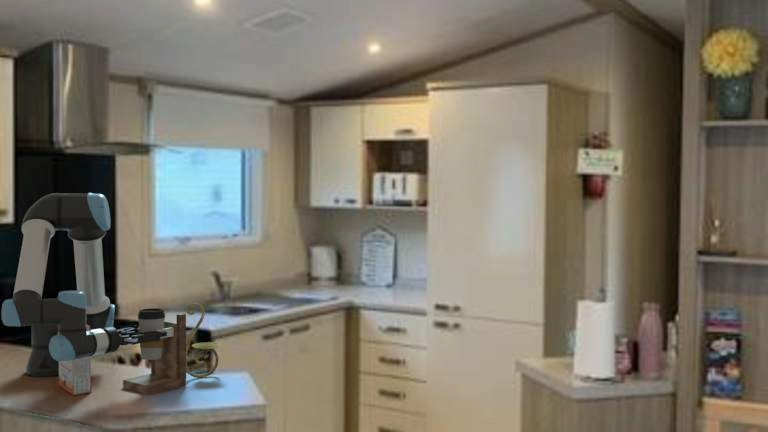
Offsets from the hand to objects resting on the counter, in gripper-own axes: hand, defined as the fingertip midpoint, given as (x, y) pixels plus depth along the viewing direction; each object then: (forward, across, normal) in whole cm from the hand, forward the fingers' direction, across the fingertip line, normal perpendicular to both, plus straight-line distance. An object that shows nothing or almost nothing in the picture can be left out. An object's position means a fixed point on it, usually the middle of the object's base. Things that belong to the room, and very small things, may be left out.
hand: (164, 330), depth 265 cm
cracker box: (-21, -17, -18) cm, 32 cm away
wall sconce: (+13, +2, -18) cm, 22 cm away
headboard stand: (-4, 0, -18) cm, 18 cm away
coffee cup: (-5, 0, -8) cm, 10 cm away
